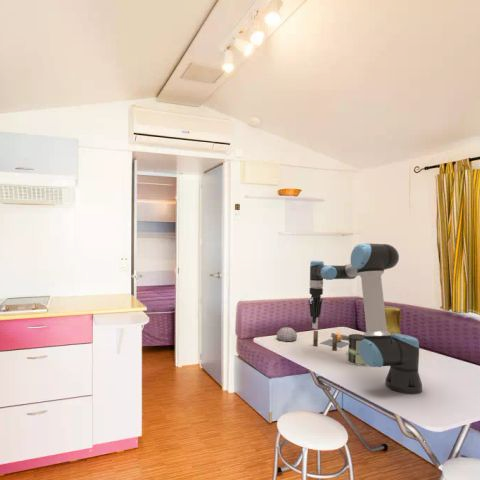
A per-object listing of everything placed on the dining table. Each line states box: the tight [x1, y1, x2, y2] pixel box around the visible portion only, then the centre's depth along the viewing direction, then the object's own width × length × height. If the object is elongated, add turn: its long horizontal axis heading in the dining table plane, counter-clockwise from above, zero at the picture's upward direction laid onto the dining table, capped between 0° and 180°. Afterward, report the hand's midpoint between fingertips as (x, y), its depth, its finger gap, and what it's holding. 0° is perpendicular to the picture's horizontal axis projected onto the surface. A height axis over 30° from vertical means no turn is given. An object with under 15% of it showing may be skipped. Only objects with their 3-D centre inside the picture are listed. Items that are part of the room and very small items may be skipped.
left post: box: [312, 330, 319, 347], centre depth 237 cm, size 3×3×9 cm
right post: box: [331, 334, 338, 352], centre depth 229 cm, size 3×3×9 cm
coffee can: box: [347, 333, 368, 367], centre depth 206 cm, size 10×10×14 cm
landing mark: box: [319, 338, 349, 349], centre depth 244 cm, size 14×14×1 cm
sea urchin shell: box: [276, 326, 298, 342], centre depth 250 cm, size 13×14×8 cm
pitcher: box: [384, 305, 402, 334], centre depth 239 cm, size 17×19×25 cm
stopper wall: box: [330, 332, 349, 342], centre depth 254 cm, size 2×18×2 cm, turn 51°
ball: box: [334, 332, 343, 342], centre depth 248 cm, size 6×6×6 cm
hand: (315, 328), depth 223 cm, fingers closed
